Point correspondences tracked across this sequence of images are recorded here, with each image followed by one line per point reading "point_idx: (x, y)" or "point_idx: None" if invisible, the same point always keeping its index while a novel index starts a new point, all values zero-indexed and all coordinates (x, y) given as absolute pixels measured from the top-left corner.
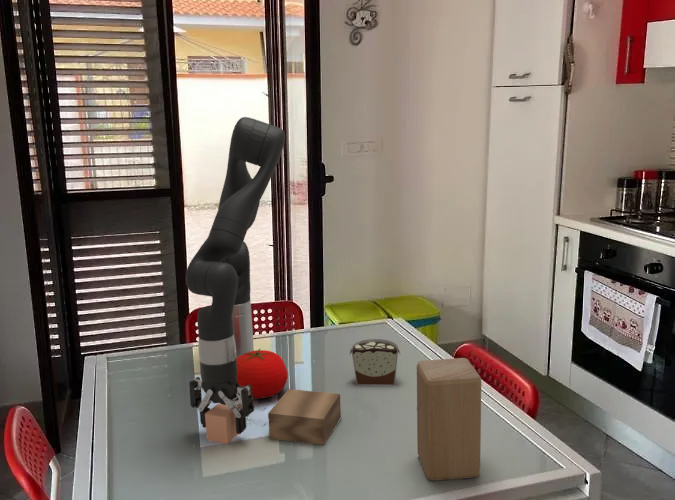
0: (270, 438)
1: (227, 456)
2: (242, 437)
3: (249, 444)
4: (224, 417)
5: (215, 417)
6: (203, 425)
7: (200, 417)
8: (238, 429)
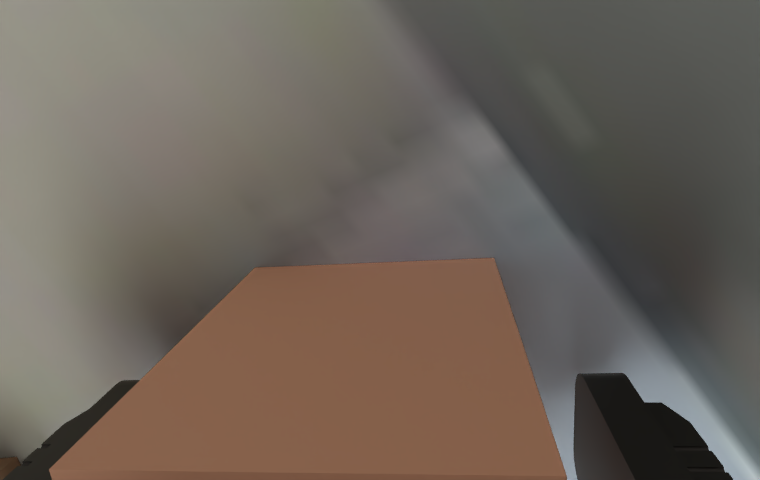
0: (10, 458)
1: (93, 69)
2: None
3: (81, 329)
4: (69, 464)
5: (297, 444)
6: (613, 383)
7: (722, 474)
8: (96, 407)
